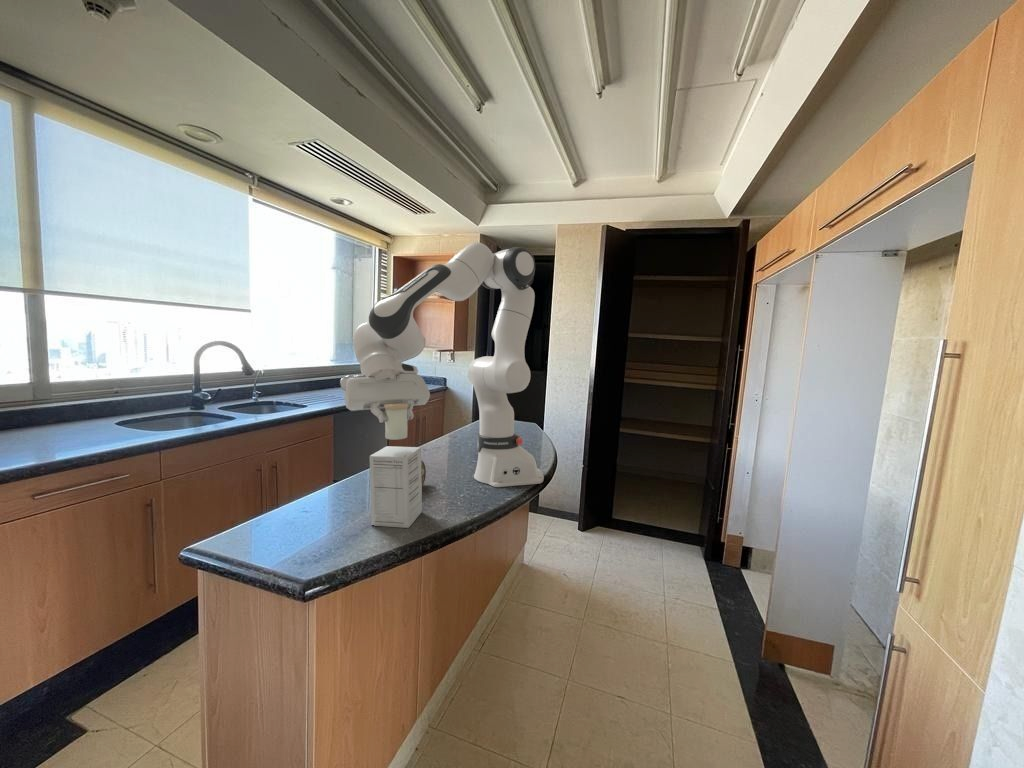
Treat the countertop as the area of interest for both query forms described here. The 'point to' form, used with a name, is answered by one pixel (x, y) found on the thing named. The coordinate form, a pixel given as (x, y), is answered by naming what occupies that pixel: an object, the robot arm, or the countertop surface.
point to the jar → (396, 420)
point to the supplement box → (395, 486)
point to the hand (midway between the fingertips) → (397, 419)
